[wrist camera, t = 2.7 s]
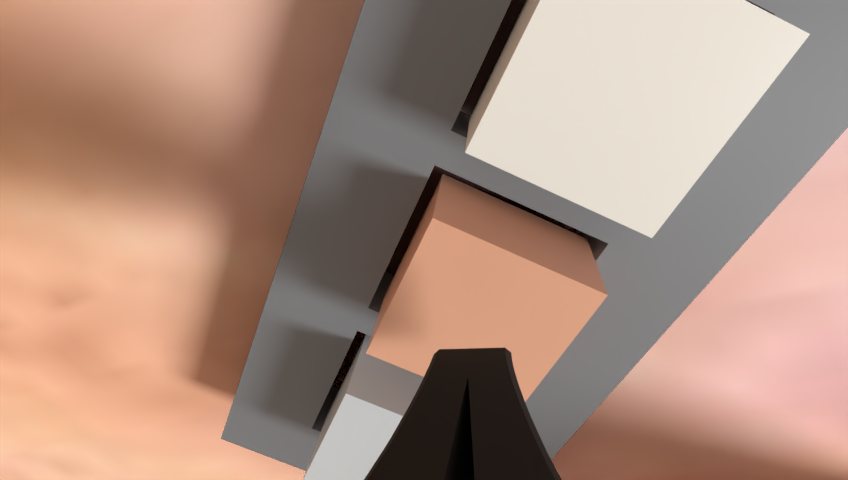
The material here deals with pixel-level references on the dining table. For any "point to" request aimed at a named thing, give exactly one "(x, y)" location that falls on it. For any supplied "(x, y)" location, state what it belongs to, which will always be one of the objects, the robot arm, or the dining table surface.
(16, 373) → the dining table surface
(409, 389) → the grey key
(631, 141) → the cream key
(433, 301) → the terracotta key
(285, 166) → the dining table surface
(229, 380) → the dining table surface
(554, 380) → the key board
